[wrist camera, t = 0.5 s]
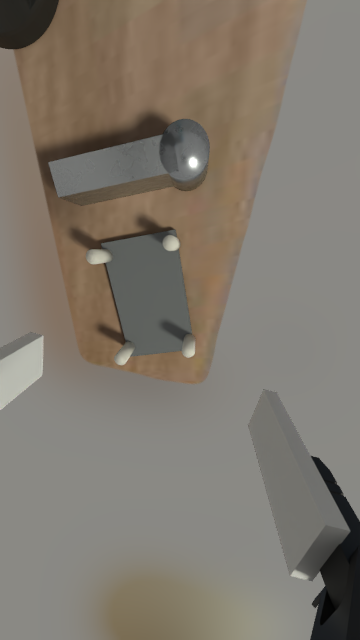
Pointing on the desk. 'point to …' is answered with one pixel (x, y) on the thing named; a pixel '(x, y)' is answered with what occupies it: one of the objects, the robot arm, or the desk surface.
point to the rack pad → (148, 294)
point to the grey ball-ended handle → (136, 166)
